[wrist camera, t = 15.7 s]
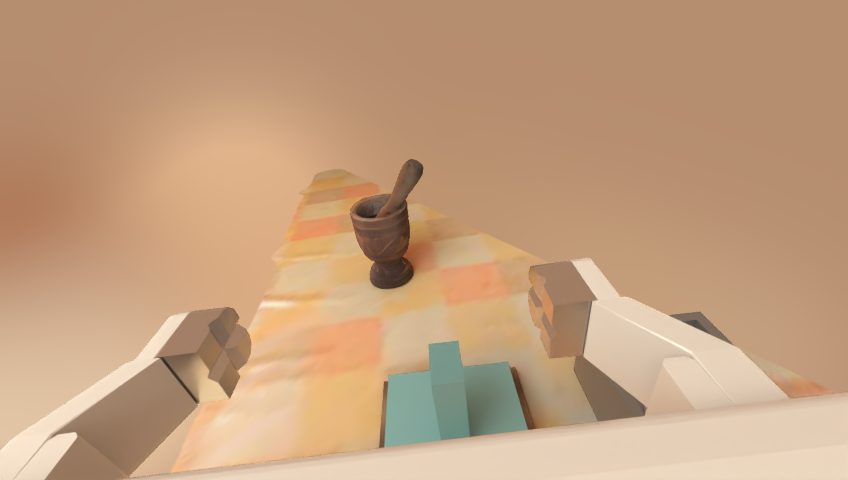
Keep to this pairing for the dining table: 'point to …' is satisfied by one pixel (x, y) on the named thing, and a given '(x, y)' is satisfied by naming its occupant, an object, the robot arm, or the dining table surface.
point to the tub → (612, 397)
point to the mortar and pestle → (387, 229)
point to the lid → (451, 400)
